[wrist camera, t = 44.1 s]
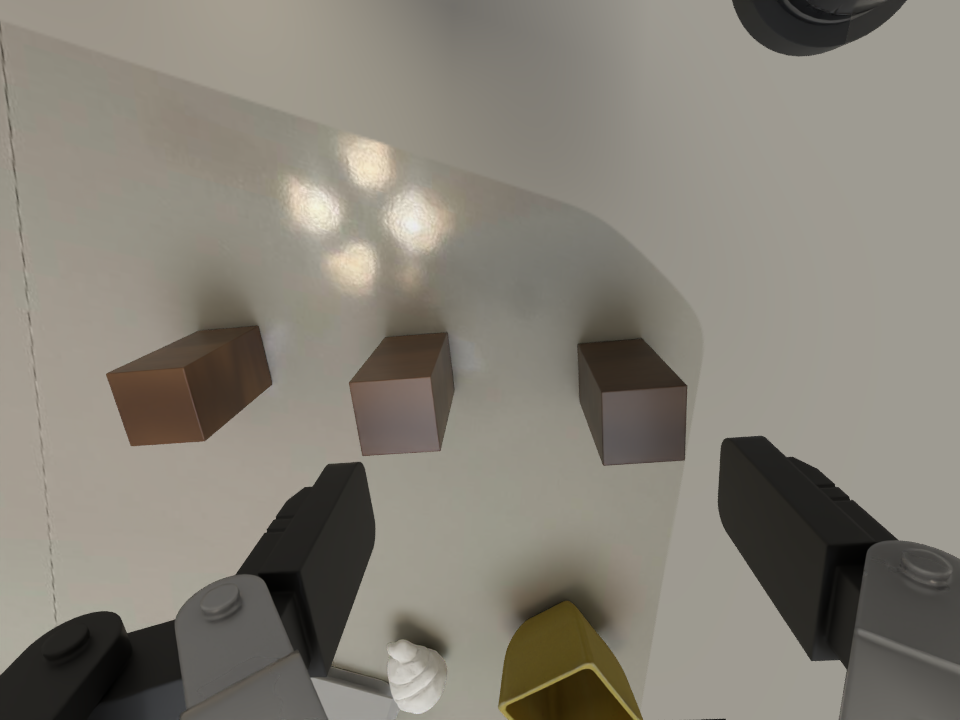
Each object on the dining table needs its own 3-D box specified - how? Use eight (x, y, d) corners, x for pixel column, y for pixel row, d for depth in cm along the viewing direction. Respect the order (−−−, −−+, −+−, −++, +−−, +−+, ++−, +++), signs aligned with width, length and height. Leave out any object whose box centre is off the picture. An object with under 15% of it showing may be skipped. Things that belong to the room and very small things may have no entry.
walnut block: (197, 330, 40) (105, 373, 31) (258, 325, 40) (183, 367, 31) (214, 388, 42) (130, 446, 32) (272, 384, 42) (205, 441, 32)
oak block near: (577, 343, 39) (601, 391, 30) (642, 338, 39) (687, 385, 30) (579, 402, 41) (603, 466, 32) (642, 398, 41) (685, 460, 31)
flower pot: (624, 638, 48) (650, 733, 40) (546, 674, 50) (555, 773, 42) (575, 575, 46) (591, 661, 38) (496, 615, 48) (495, 707, 40)
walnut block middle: (384, 337, 40) (348, 382, 30) (447, 332, 40) (430, 376, 30) (394, 395, 41) (362, 456, 32) (454, 391, 41) (440, 451, 32)
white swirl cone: (423, 611, 48) (413, 662, 43) (454, 655, 50) (448, 708, 45) (375, 631, 49) (360, 682, 44) (407, 673, 51) (396, 727, 46)
